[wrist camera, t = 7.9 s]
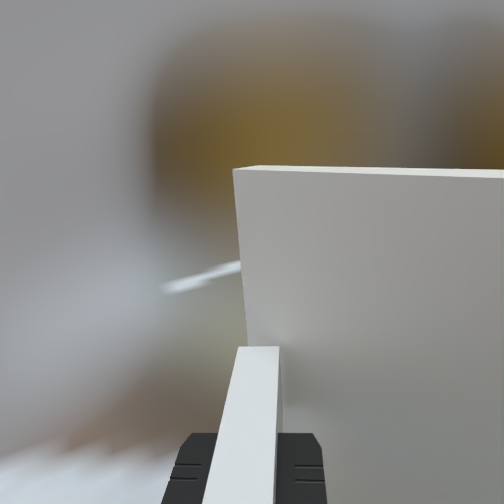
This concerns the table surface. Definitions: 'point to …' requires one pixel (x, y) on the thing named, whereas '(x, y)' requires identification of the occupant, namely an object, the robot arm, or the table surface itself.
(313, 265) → the white panel stand
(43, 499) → the table surface
